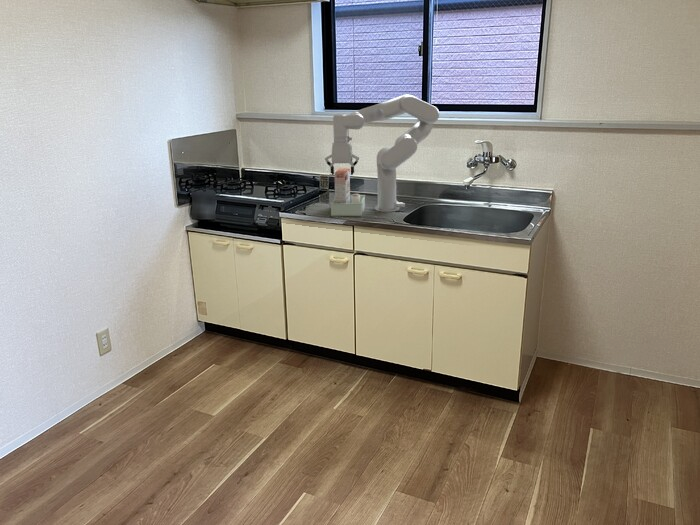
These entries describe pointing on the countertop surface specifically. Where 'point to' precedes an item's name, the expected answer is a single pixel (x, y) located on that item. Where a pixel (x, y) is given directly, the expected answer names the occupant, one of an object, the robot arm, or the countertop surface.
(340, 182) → the cracker box
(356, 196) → the jar
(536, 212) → the countertop surface
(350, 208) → the tote
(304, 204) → the countertop surface
